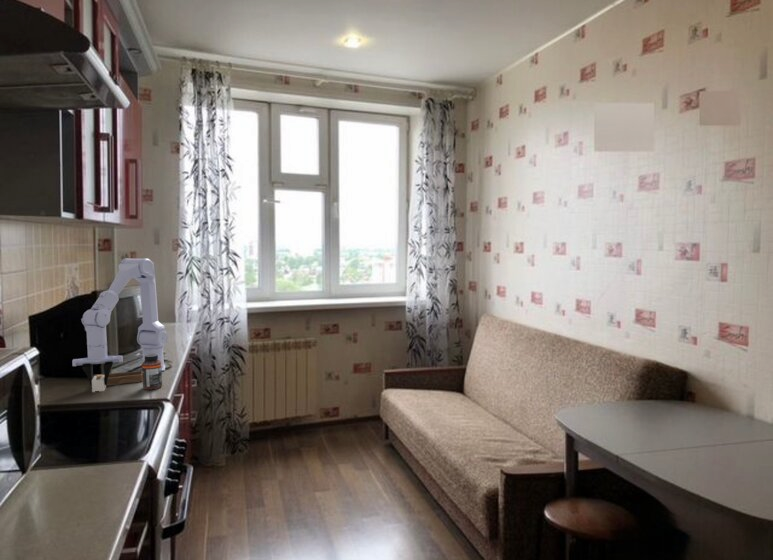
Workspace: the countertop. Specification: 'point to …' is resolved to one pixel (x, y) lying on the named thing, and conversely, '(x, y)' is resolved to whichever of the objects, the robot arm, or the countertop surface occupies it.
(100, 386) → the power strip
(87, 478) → the countertop surface
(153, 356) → the supplement bottle
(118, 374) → the brown wooden frame
